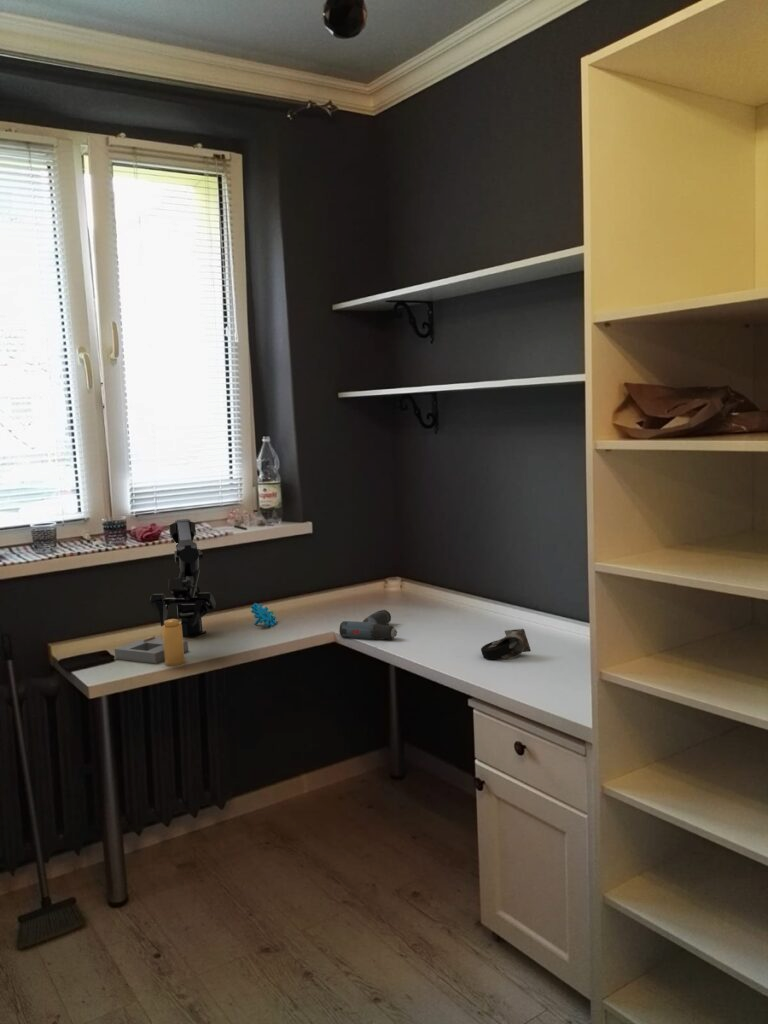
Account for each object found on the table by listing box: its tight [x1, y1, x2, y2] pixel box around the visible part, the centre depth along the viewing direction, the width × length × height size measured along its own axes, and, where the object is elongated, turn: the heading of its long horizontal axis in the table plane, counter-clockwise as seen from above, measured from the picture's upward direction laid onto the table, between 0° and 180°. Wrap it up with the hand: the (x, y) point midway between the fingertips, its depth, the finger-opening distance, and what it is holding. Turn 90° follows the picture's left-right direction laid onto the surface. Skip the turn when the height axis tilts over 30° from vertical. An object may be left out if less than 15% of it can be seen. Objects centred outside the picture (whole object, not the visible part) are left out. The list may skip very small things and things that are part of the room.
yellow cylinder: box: [161, 618, 186, 666], centre depth 251 cm, size 6×6×12 cm
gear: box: [250, 602, 277, 627], centre depth 290 cm, size 11×6×10 cm
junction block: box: [114, 635, 189, 664], centre depth 261 cm, size 14×16×4 cm
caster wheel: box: [480, 628, 532, 660], centre depth 239 cm, size 7×11×10 cm
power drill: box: [339, 609, 398, 641], centre depth 273 cm, size 5×19×20 cm
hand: (177, 626), depth 254 cm, fingers open, 9 cm apart
